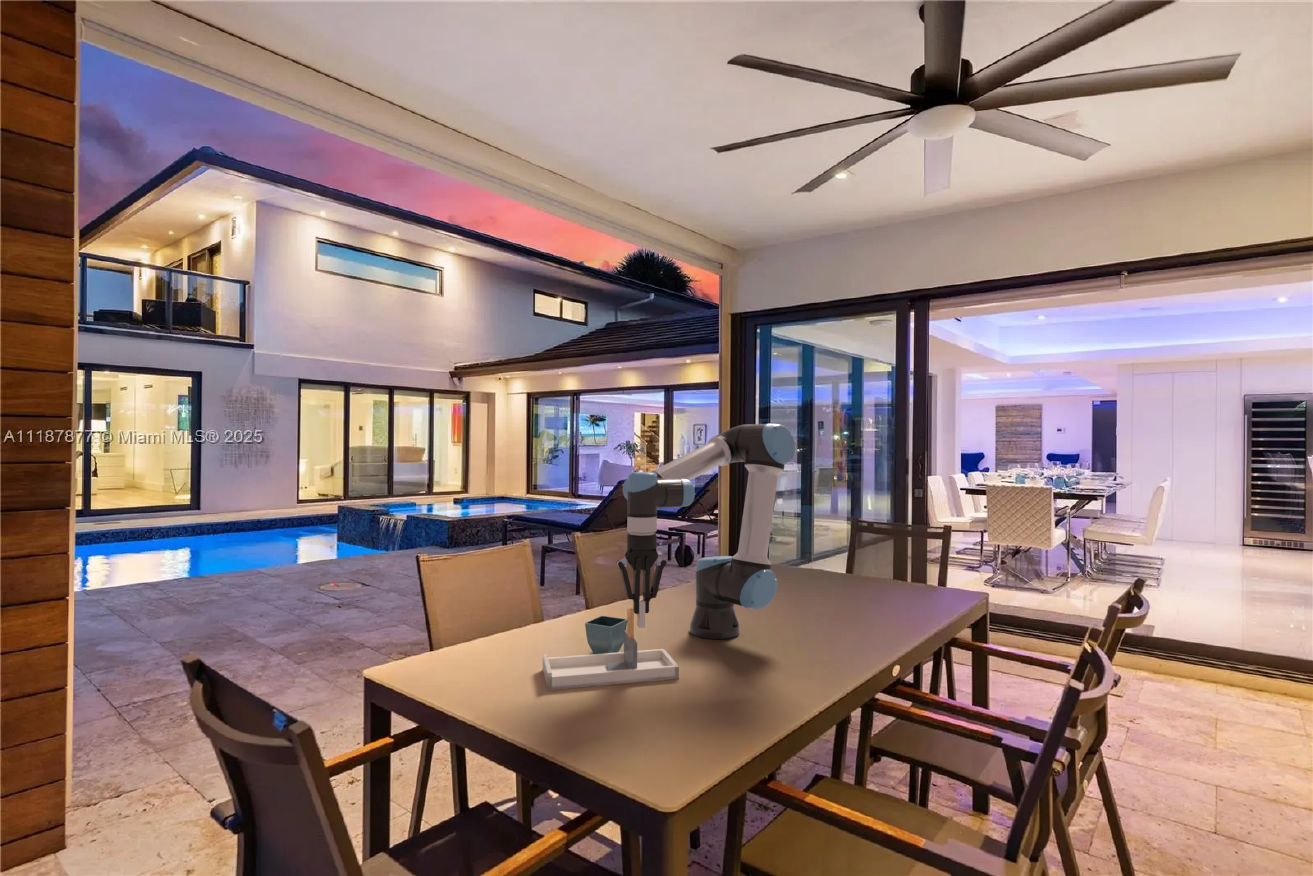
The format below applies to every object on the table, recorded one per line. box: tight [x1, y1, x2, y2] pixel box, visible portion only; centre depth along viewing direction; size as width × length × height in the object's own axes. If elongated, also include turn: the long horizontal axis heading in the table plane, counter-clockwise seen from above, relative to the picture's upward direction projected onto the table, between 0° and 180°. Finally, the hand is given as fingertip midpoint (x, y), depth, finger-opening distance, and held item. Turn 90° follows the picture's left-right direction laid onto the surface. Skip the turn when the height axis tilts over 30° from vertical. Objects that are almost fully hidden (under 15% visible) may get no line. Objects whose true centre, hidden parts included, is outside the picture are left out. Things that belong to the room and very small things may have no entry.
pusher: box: [606, 606, 638, 671], centre depth 162 cm, size 6×11×15 cm, turn 15°
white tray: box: [542, 648, 680, 691], centre depth 161 cm, size 32×14×4 cm, turn 105°
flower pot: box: [584, 615, 627, 654], centre depth 178 cm, size 9×9×9 cm
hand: (641, 626), depth 164 cm, fingers closed
